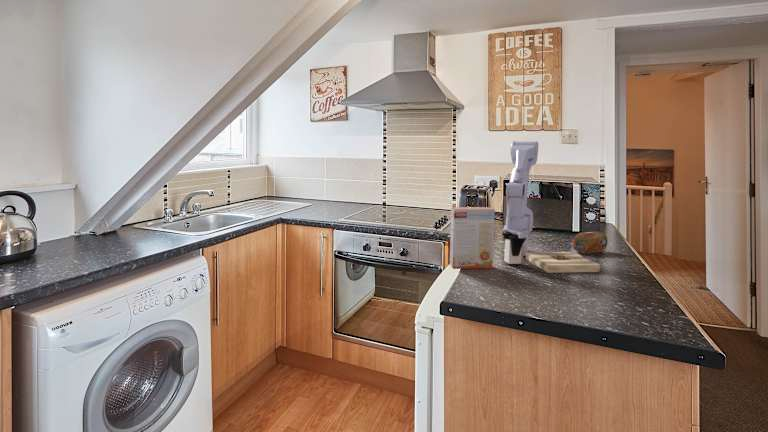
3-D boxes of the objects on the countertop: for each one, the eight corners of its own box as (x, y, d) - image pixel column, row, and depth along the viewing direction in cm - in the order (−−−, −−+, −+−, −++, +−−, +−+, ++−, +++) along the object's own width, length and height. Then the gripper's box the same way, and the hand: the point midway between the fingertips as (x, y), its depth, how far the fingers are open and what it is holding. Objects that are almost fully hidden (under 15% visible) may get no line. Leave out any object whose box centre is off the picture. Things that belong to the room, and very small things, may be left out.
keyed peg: (504, 260, 152) (505, 239, 151) (519, 260, 153) (520, 238, 152) (508, 263, 148) (509, 241, 147) (524, 263, 149) (525, 241, 147)
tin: (575, 254, 166) (577, 233, 165) (570, 252, 169) (571, 232, 168) (607, 252, 170) (609, 231, 169) (601, 250, 173) (602, 230, 172)
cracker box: (487, 264, 150) (490, 206, 147) (492, 269, 144) (495, 208, 141) (448, 264, 149) (450, 206, 146) (452, 269, 144) (454, 208, 140)
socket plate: (525, 258, 158) (526, 252, 158) (571, 258, 160) (572, 251, 159) (547, 272, 140) (548, 265, 140) (599, 271, 142) (600, 264, 141)
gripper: (496, 213, 155) (495, 249, 157) (511, 220, 140) (509, 259, 143) (515, 213, 155) (513, 249, 157) (532, 219, 141) (529, 259, 143)
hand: (512, 254), depth 150 cm, fingers closed on keyed peg, 4 cm apart
